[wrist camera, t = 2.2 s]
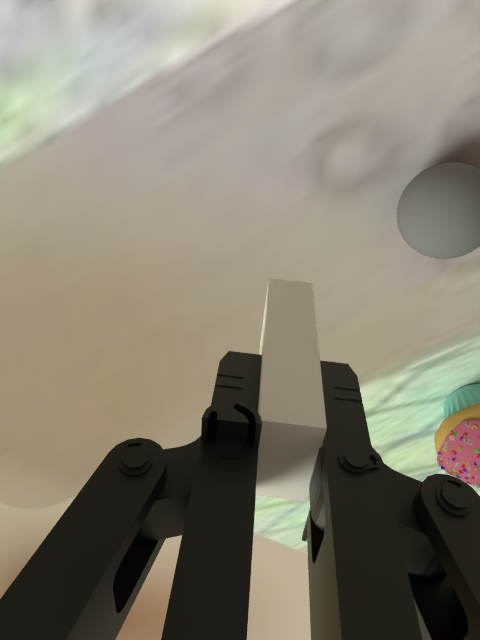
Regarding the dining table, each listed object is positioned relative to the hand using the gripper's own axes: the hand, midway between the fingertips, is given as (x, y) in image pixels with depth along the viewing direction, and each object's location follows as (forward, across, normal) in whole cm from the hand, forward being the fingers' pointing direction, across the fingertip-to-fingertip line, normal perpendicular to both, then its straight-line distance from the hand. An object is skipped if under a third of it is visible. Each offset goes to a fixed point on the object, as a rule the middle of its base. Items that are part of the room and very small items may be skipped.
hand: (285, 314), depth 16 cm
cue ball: (+13, +10, 0) cm, 16 cm away
